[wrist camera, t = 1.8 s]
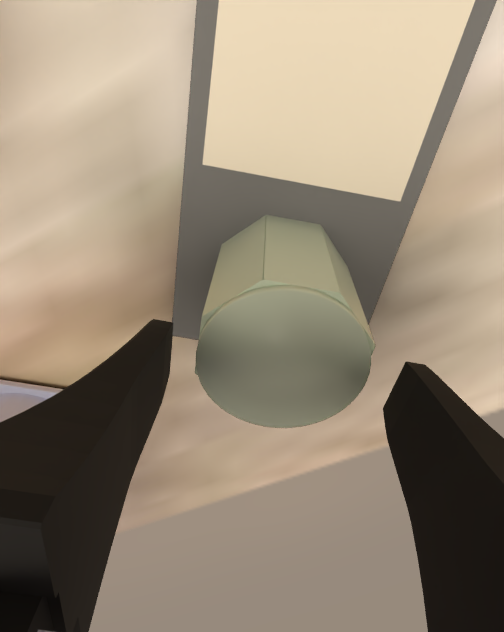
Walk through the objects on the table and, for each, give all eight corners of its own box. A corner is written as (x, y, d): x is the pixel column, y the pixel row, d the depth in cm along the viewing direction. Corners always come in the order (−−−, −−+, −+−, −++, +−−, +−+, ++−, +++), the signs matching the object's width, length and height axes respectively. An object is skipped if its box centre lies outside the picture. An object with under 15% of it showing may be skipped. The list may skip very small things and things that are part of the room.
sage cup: (323, 338, 19) (341, 438, 14) (211, 319, 19) (188, 414, 14) (359, 231, 16) (397, 309, 11) (226, 207, 16) (205, 276, 11)
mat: (350, 358, 20) (352, 367, 20) (173, 329, 20) (170, 337, 19) (514, -62, 12) (526, -69, 11) (209, -132, 11) (206, -142, 11)
